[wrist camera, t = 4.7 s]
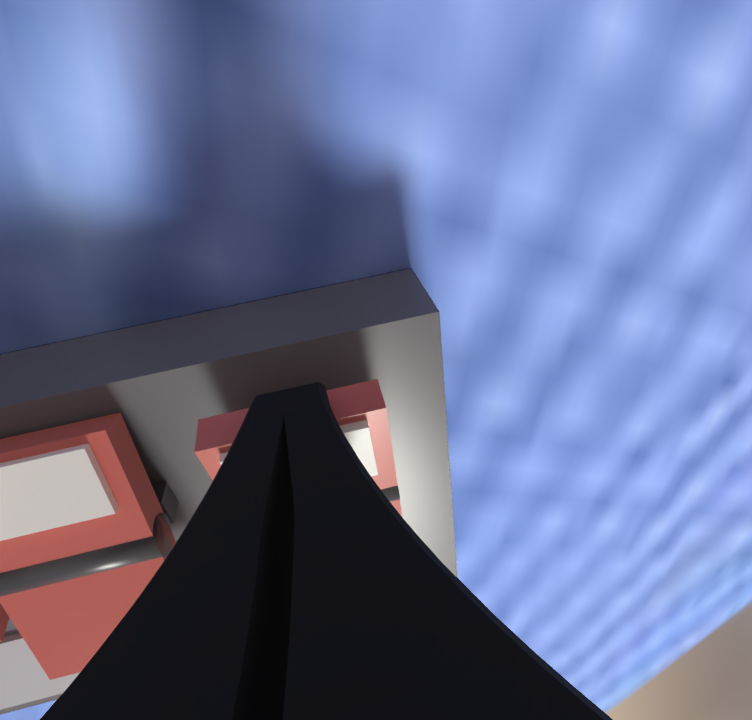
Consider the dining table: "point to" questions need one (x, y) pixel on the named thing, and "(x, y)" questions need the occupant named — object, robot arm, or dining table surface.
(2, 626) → the rocker
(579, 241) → the dining table surface
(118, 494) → the rocker
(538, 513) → the dining table surface
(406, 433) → the switch panel
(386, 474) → the rocker
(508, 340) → the dining table surface
